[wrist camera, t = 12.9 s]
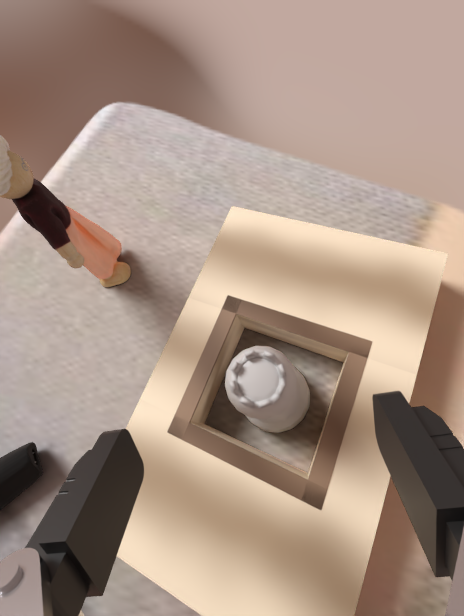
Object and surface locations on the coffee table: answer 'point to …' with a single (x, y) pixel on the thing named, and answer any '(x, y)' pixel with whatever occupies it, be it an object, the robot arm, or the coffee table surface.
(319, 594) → the socket board
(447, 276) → the coffee table surface
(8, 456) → the electric trimmer
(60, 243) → the grandmother figurine
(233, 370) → the rook chess piece
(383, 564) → the coffee table surface
